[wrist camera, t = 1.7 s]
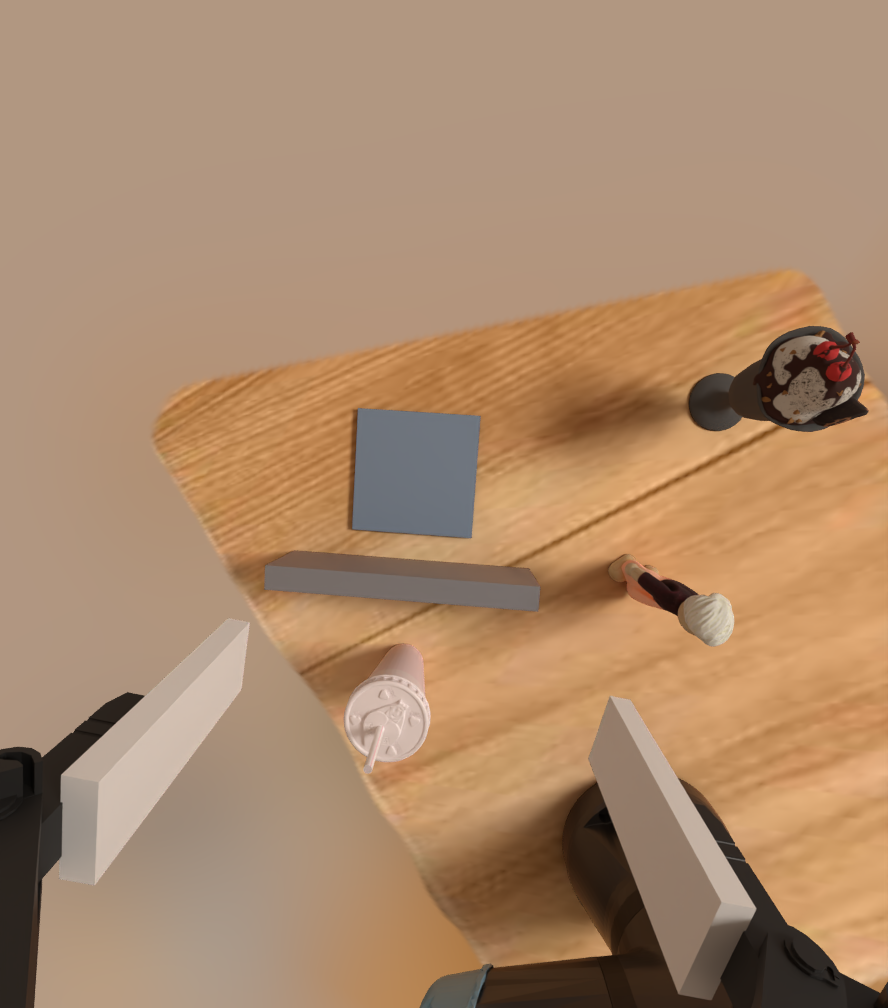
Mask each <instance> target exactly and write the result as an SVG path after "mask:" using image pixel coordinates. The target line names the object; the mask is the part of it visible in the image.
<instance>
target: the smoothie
mask: <svg viewBox="0 0 888 1008" xmlns="http://www.w3.org/2000/svg"><path fill="white" fill-rule="evenodd" d="M430 715H431V714H430V709H429V704H428V702H427V700H426V698H425V683H424V666H423V658H422V655H421V653H420V652H419V650H418V649H417V648H415V647H414V646H412V645H409V644H398V645H395V646H393V647H392V648H391V649H390V650H389V651H388V652H387V654H386V655H385V656H384V658H383V659H382V660H381V662H380V663H379V664H378V666H377V667H376V668H375V670H374V671H373V672H372V674H371V675H370V676H369V677H368V679H367V680H365V681H363V682H362V683H361V684H360V685H358V686H357V687H356V688H355V690H354V691H353V693H352V694H351V695H350V698H349V701H348V703H347V706H346V709H345V713H344V727H345V731H346V734H347V737H348V739H349V740H350V742H351V743H352V745H353V746H354V747H355V748H356V749H357V750H358V751H359V752H360V753H361V754H363V755H364V756H366V757H367V759H366V762H365V765H364V769H363V770H364V772H365V773H371V772H372V769H373V766H374V762H375V760H376V761H380V762H395V761H400V760H403V759H405V758H407V757H409V756H411V755H412V754H414V753H415V752H416V751H417V750H418V749H419V748H420V747H421V745H422V744H423V742H424V741H425V738H426V736H427V733H428V728H429V725H430Z"/></svg>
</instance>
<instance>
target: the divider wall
mask: <svg viewBox="0 0 888 1008" xmlns="http://www.w3.org/2000/svg"><path fill="white" fill-rule="evenodd" d="M264 590H277V591H289V592H302V593H314V594H326V595H339V596H351V597H364V598H376V599H388V600H401V601H413V602H426V603H438V604H450V605H463V606H475V607H488V608H500V609H512V610H525V611H537V612H538V608H539V597H540V585H539V584H538V582H537V581H536V579H535V577H534V576H533V574H532V573H531V571H530V569H529V568H516V567H503V566H490V565H477V564H464V563H450V562H437V561H424V560H411V559H398V558H385V557H372V556H359V555H346V554H333V553H320V552H307V551H292V552H290V553H288V554H286V555H284V556H283V557H281V558H279V559H277V560H275V561H273V562H271V563H269V564H267V565H265V588H264Z"/></svg>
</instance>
